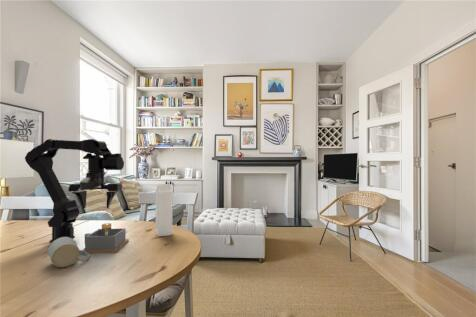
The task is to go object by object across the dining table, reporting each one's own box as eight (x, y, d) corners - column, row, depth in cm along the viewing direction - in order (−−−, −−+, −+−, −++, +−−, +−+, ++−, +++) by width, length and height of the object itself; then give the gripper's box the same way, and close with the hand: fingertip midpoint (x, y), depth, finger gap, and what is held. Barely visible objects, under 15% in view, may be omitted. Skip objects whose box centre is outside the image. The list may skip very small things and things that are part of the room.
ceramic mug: (50, 272, 71) (51, 245, 71) (47, 263, 77) (48, 239, 77) (92, 262, 78) (93, 238, 79) (86, 255, 84) (86, 232, 84)
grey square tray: (76, 253, 85) (76, 237, 85) (93, 242, 97) (93, 228, 97) (116, 252, 86) (116, 236, 87) (128, 241, 98) (128, 227, 99)
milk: (172, 234, 107) (172, 184, 108) (158, 237, 104) (158, 185, 105) (168, 231, 113) (169, 183, 113) (155, 233, 110) (155, 184, 110)
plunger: (89, 247, 87) (89, 227, 88) (100, 239, 96) (100, 221, 96) (113, 246, 88) (113, 226, 88) (121, 239, 96) (122, 221, 96)
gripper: (59, 170, 92) (59, 212, 91) (111, 170, 93) (111, 211, 93) (76, 170, 103) (76, 207, 103) (122, 169, 104) (122, 206, 104)
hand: (96, 208), depth 100 cm, fingers open, 9 cm apart
